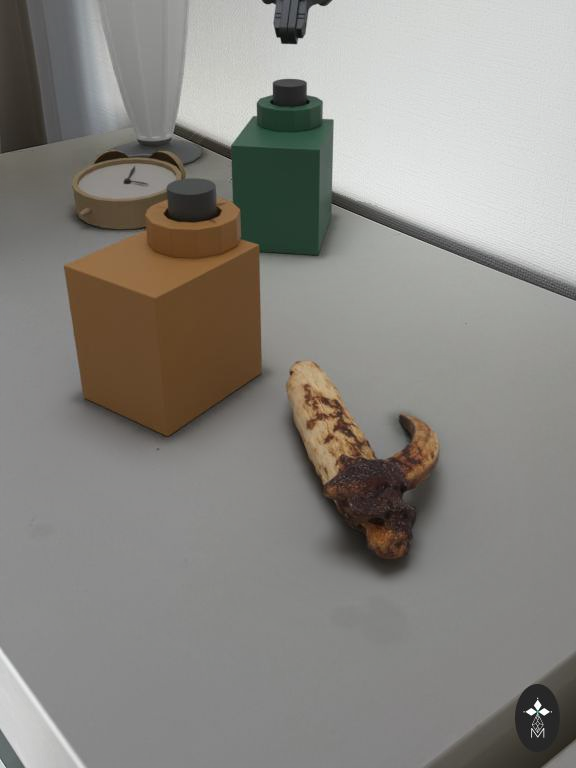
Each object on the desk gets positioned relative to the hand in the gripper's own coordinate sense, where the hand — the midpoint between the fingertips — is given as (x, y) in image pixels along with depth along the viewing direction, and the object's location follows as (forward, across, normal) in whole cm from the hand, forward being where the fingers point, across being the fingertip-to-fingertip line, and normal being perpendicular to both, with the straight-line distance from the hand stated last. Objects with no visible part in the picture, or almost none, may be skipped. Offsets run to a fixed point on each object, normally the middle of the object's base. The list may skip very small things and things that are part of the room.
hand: (288, 38), depth 79 cm
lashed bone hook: (+41, +12, -15) cm, 45 cm away
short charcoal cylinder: (+4, 0, +4) cm, 6 cm away
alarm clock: (+11, -17, +14) cm, 25 cm away
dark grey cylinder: (+25, -1, -17) cm, 30 cm away
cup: (-1, -20, +27) cm, 33 cm away
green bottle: (+14, 0, +10) cm, 18 cm away
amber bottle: (+35, -3, -10) cm, 37 cm away
